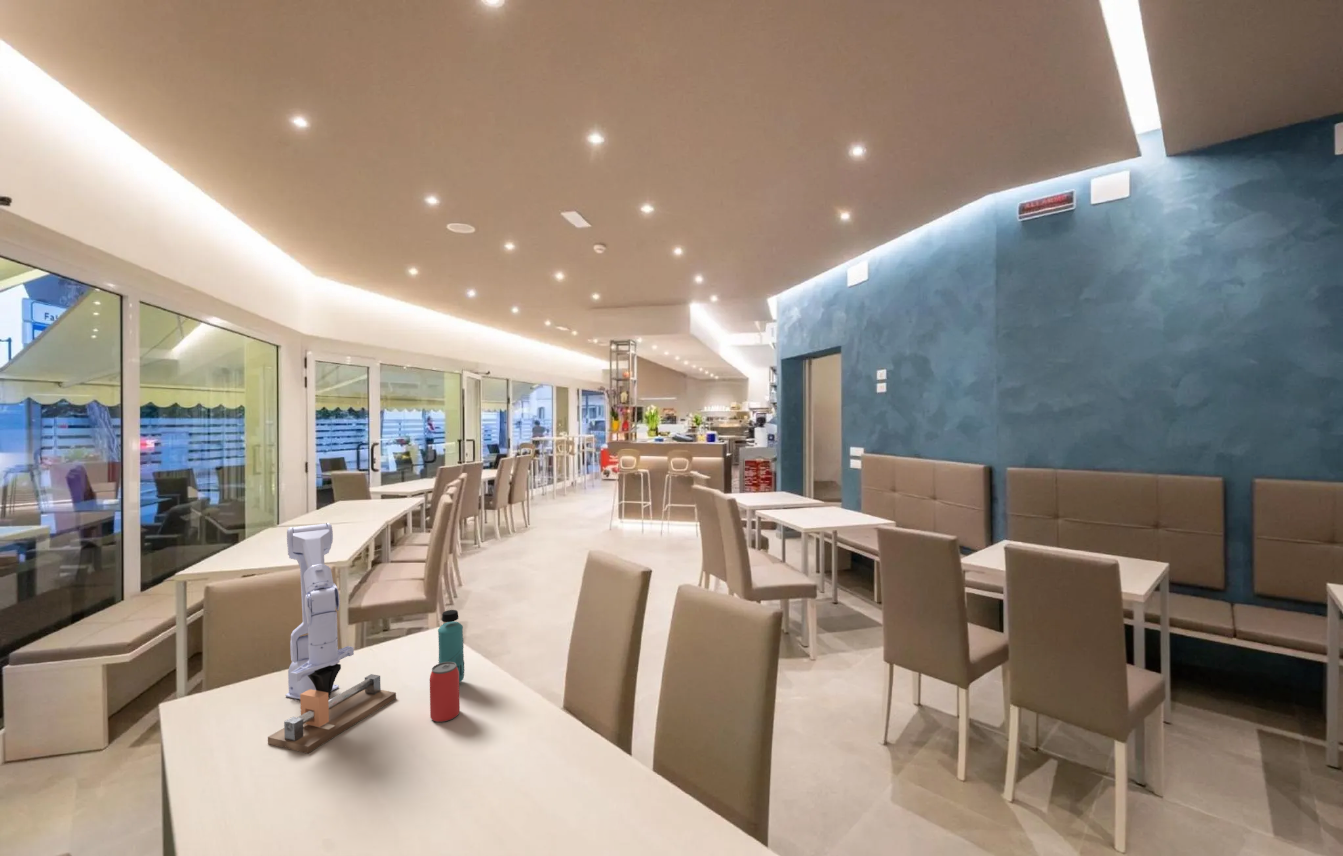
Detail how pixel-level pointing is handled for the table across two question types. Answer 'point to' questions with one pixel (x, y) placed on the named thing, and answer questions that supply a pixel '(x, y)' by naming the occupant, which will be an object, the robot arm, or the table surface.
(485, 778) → the table surface
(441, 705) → the beer can
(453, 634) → the beverage bottle
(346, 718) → the board
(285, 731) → the pipe stand
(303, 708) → the collar
